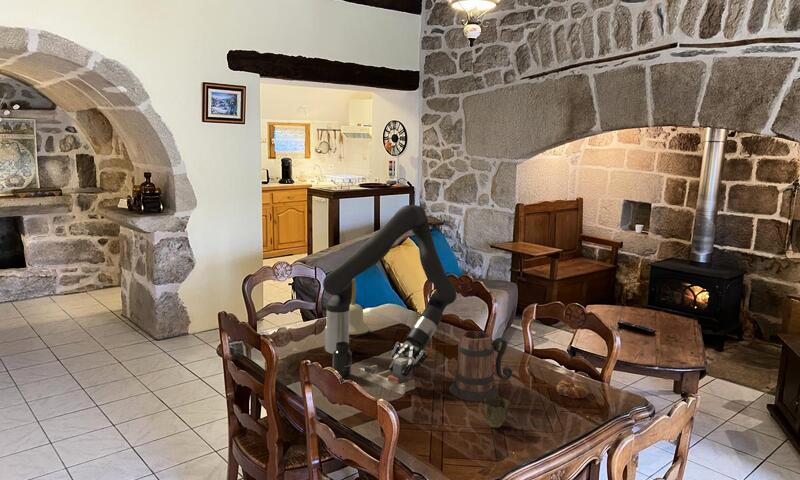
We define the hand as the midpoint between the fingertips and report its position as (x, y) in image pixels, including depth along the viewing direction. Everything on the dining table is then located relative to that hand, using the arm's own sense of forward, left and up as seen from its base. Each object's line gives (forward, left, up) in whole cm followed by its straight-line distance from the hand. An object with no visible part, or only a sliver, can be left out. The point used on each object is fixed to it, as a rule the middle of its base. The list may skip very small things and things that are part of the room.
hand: (397, 372), depth 202 cm
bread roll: (+43, +43, -6) cm, 61 cm away
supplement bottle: (-22, -6, -6) cm, 24 cm away
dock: (-6, +2, -6) cm, 8 cm away
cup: (+40, +2, -6) cm, 40 cm away
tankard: (+20, +22, -6) cm, 30 cm away
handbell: (-59, +31, -6) cm, 67 cm away
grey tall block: (0, +2, -6) cm, 6 cm away
